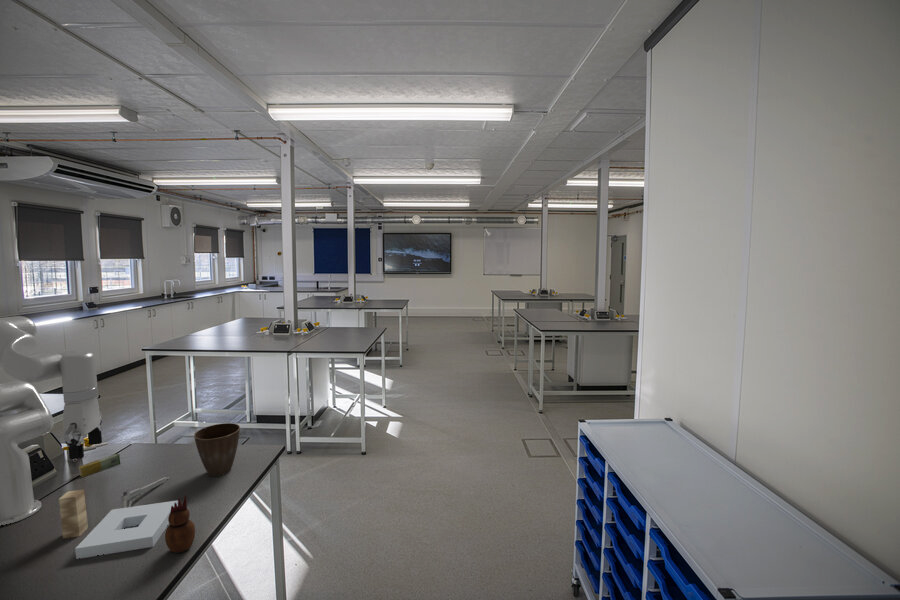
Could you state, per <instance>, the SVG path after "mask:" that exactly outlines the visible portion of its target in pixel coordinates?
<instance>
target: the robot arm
mask: <svg viewBox="0 0 900 600" xmlns="http://www.w3.org/2000/svg"><path fill="white" fill-rule="evenodd" d="M36 334H37V325H36V324H35V322H34V321H33V320H32V319H30V318H28V317H27V316H23V315H22V316H21V315H15V316H5V317H0V366H1V368H2V370H3V372H5V374H7V375H8V376H10V377H11V378H14V379H16V380H12V381H11V380H10V381H9V382H3V383H0V415H3V414H7V413H10V412H15V413H11V414H7V415H4V416H0V527H2V526H1V525H3V526H7V525H10V523H11V524H13V523H16V522H19V521H22V520H24V519H26V518H28V517H30V516H32V515H34V514H36V513H37V512H38V511H39V510H41V508H42V502H41V501H40V500H37V499H35V498H34V490H33V489H34V488H33V482H32V472H31V463H30V457H29V454H28V453H27V451H25V450H24V449H22V448H20V447H19V446H18V445H20V444H23V443H24V442H27V441H30V440H32V439H36V438H39V437H41V436H43V435H46V434H48V433H49V432H50V431H51V430H52V429H53V427H54V419H53V418H54V417H53V415H52V413H51V411H50V409H49V408H48V406H47V404H46V403H45V401H44V399H43V398H42V397H41V394H40V393H39V391H38V390H37V388H36V386H34V385H33V384H34V383H39V382H44V381H47V380H52V379H55V378H60V377H61V385H62V394H63V404H64V406H63V412H62V414H63V416H62V420H63V421H62V424H63V426H62V428H63V440H64V441H65V444H66V447H68V456H69V460H71V461H72V460H79V459H83V458H85V453H84V452H85V450H84V444H83V443H82V442H83V438H84V437H85V436H86V435H87V438H88V445H89V446H93V445H101V444H102V443H103V436H102V429H103V428H102V423H103V421H102V416H103V413H102V412H101V411H100V404H99V400H98V398H99V388H98V378H97V377H98V376H97V366H96V358H95V355H94V353H92V352H90V351H78V350H75V349H63V350H57V351H51V352H45V353H41V354H40V353H39V354H36V355H31V354H33V352H35V350H36V348H37V345H38V341H37V338H36ZM76 438H77V439H76ZM6 524H7V525H6Z"/></svg>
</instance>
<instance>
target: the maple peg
mask: <svg viewBox="0 0 900 600" xmlns="http://www.w3.org/2000/svg"><path fill="white" fill-rule="evenodd" d="M85 495H86V494H85V489H78V490H70V491H67V492H65V493H64V494H63V495H62V496H61V497H59V498H58V504H59V513H60V514H59V515H60V521H61V522H60V523H61V533H62V540H64V539H68V538H69V539H70V537H71V538H76V537H77V538H78V537H80V536H82V535H83V533H84V532H85V531H86V530H87V529H88V528H89V525H88V516H87V515H88V514H87V507H86V496H85Z"/></svg>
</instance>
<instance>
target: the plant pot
mask: <svg viewBox="0 0 900 600" xmlns="http://www.w3.org/2000/svg"><path fill="white" fill-rule="evenodd" d="M240 429H241V426H240V425H239V424H237V423H233V422H227V423H224V422H223V423H217V424H213V425H209V426H205V427H203V428H200V429H199V430H197V431H196V432H195V433H194V436H193V437H194V441H195V442H194V443H195V445H196V449H197V453H198V455H199V457H200V460H201V463H202V465H203V467H204V469H205V471H206V473H207V475H208V476H209V477H214V476H215V477H220V476H219V475H221V476H224V475H227V474H228V473H230V471H232V467H233V464H234V462H235V457H236V454H237V451H238V450H237V449H238V446H239V445H238V444H239V439H240ZM223 474H224V475H223Z"/></svg>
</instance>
